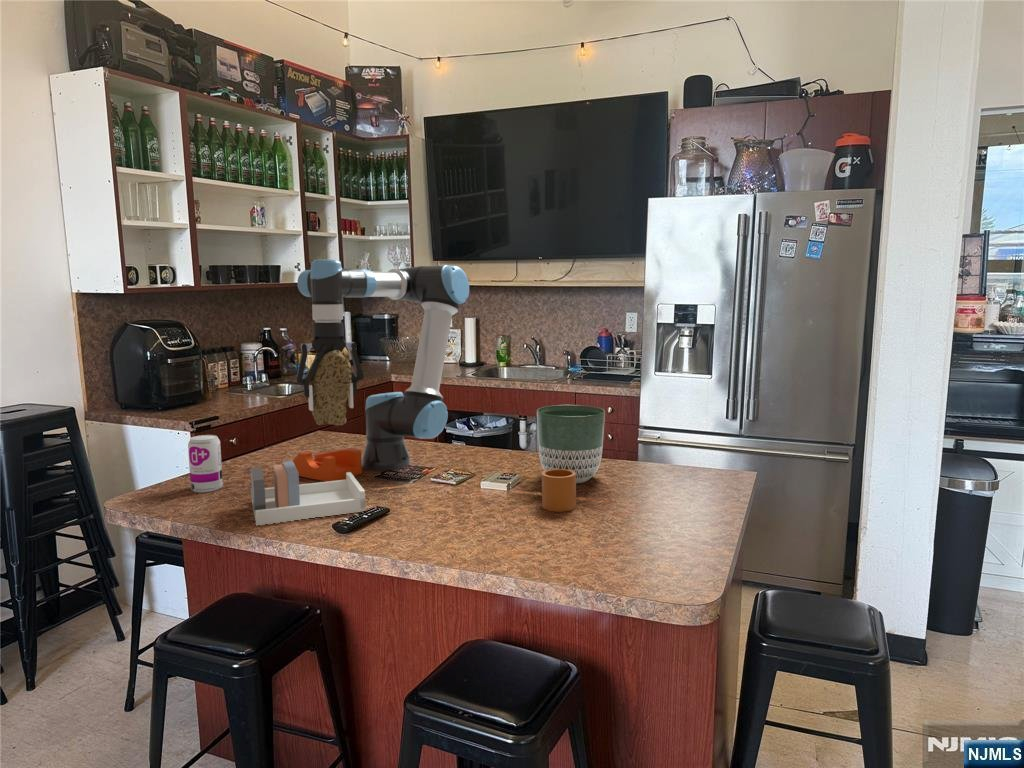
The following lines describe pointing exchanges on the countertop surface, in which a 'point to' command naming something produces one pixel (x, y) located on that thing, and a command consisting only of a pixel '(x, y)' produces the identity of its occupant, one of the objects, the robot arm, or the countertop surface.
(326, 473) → the tape dispenser
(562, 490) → the mug
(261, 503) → the dark gray book
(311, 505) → the white tray
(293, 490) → the book row
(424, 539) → the countertop surface
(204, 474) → the supplement can
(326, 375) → the sponge
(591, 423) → the planter
